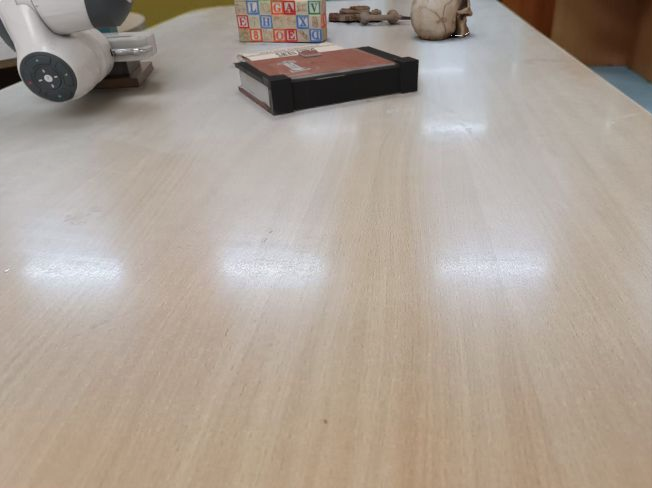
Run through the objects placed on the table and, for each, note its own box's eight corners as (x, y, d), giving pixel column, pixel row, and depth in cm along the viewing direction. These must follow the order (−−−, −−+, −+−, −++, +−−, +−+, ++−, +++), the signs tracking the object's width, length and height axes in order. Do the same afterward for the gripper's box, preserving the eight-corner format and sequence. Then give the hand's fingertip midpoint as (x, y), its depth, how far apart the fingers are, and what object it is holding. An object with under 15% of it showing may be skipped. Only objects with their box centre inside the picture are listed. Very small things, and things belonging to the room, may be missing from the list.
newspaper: (320, 49, 118) (320, 37, 117) (351, 63, 111) (351, 51, 109) (229, 61, 107) (228, 49, 105) (256, 79, 100) (255, 66, 98)
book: (366, 70, 100) (366, 42, 97) (417, 90, 87) (418, 59, 85) (237, 89, 90) (233, 59, 87) (273, 115, 77) (270, 81, 74)
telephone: (443, 24, 143) (444, 7, 141) (325, 25, 145) (325, 9, 142) (438, 19, 156) (439, 3, 154) (330, 20, 158) (330, 4, 155)
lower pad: (69, 90, 91) (61, 66, 88) (91, 71, 102) (85, 50, 100) (139, 86, 92) (133, 63, 90) (153, 68, 104) (148, 47, 101)
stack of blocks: (328, 38, 129) (325, -18, 122) (322, 43, 124) (319, -15, 117) (247, 37, 132) (241, -18, 125) (238, 41, 127) (231, -15, 120)
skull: (467, 28, 137) (471, -28, 128) (475, 49, 124) (481, -13, 115) (408, 31, 138) (409, -25, 129) (410, 52, 125) (411, -9, 116)
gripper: (144, 30, 82) (159, 18, 93) (8, 35, 80) (40, 22, 91) (153, 71, 86) (166, 54, 97) (23, 77, 83) (53, 59, 95)
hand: (104, 39), depth 94 cm, fingers open, 8 cm apart
